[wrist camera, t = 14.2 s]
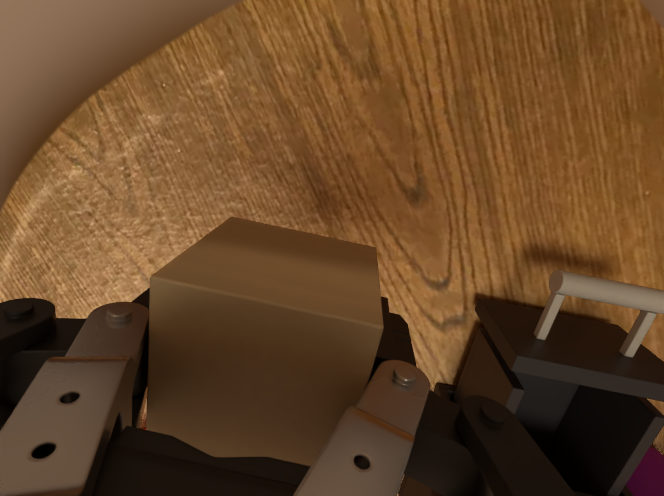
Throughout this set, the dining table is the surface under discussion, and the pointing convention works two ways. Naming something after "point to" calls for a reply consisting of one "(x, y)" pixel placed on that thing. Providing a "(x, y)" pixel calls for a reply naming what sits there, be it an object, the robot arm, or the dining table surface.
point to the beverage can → (648, 475)
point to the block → (261, 340)
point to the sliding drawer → (574, 379)
